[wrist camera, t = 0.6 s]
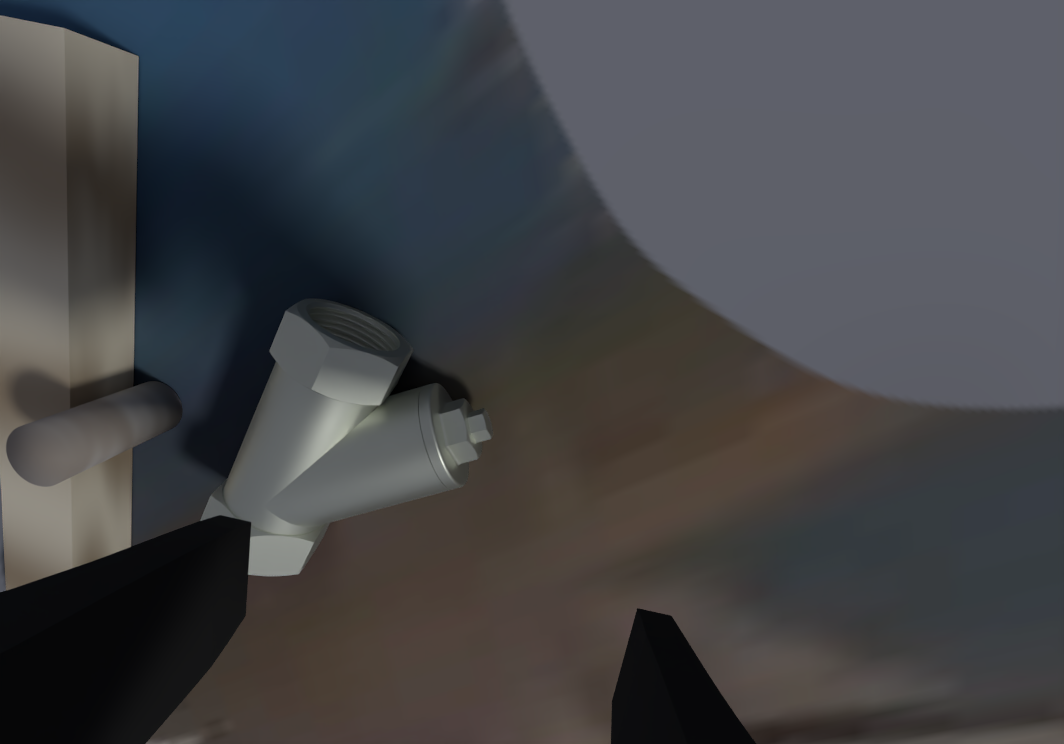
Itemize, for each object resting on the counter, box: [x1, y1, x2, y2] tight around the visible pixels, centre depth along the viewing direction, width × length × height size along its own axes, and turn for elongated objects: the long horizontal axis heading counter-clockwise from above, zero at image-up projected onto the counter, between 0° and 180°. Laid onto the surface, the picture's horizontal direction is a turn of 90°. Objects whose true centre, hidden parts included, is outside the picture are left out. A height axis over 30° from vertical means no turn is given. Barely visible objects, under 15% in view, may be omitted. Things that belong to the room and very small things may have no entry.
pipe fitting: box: [200, 299, 493, 576], centre depth 18 cm, size 8×4×7 cm
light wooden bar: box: [0, 15, 182, 590], centre depth 18 cm, size 22×4×4 cm, turn 169°
